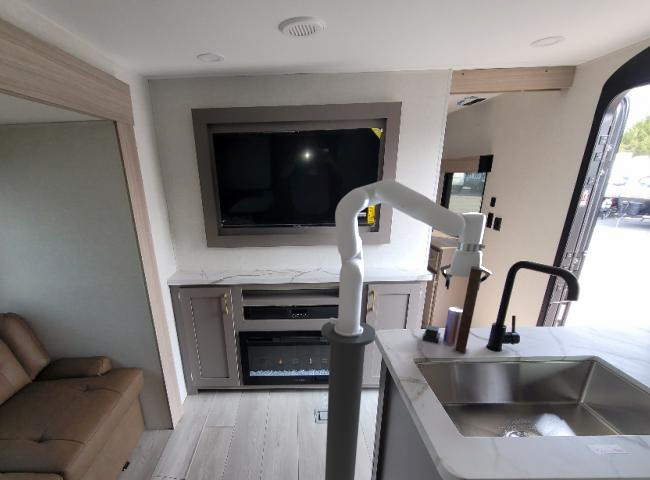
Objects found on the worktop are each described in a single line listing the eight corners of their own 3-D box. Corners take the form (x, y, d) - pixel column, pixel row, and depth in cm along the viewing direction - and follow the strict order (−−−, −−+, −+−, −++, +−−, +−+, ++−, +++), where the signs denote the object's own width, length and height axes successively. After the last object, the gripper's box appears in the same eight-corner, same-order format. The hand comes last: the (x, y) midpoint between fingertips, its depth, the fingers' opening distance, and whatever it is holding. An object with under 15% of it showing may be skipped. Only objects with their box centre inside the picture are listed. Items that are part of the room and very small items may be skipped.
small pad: (425, 335, 137) (426, 328, 136) (427, 331, 141) (427, 324, 140) (436, 337, 135) (437, 331, 134) (437, 333, 138) (439, 327, 137)
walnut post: (454, 351, 129) (470, 268, 117) (455, 347, 132) (471, 266, 120) (464, 353, 127) (482, 269, 115) (465, 349, 130) (482, 267, 118)
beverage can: (440, 342, 136) (446, 309, 131) (446, 337, 140) (452, 305, 134) (454, 347, 132) (461, 313, 127) (461, 342, 136) (467, 309, 130)
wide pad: (422, 340, 138) (423, 335, 137) (424, 334, 142) (425, 330, 142) (437, 343, 135) (438, 338, 134) (439, 338, 140) (440, 333, 139)
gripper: (495, 247, 120) (486, 290, 126) (444, 243, 129) (438, 284, 135) (495, 251, 114) (486, 296, 120) (442, 247, 123) (436, 290, 129)
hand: (461, 290), depth 127 cm, fingers open, 9 cm apart
